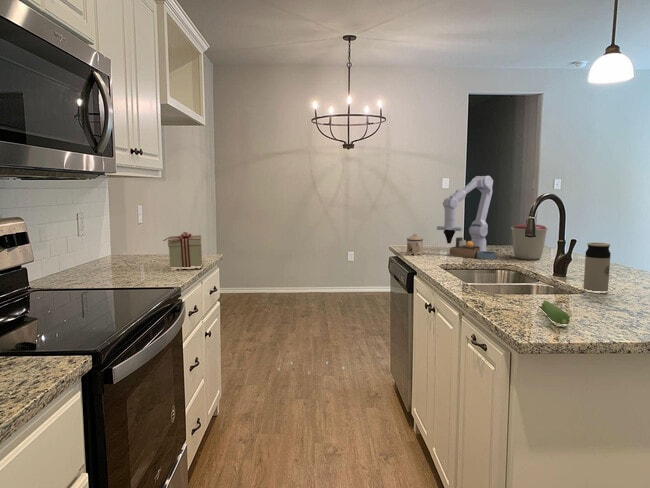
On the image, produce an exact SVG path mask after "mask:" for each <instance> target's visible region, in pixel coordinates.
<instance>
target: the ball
mask: <svg viewBox="0 0 650 488" xmlns="http://www.w3.org/2000/svg"><path fill="white" fill-rule="evenodd" d="M466 247H473V242H471V240H468V241H466Z"/></svg>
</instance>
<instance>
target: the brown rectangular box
mask: <svg viewBox="0 0 650 488" xmlns="http://www.w3.org/2000/svg"><path fill="white" fill-rule="evenodd" d="M478 251H480V247H478V246H473V247H461V246H459V248H457V247H456V245H455V246H452V247H449V256H450V255H453V256H452V257H458V256H460V257H459V258H468V257H469V258H470V259H475V258H476V252H478ZM476 259H477V258H476Z"/></svg>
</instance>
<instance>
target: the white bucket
mask: <svg viewBox="0 0 650 488" xmlns="http://www.w3.org/2000/svg"><path fill="white" fill-rule="evenodd" d="M527 221H528V219H526V220H525V223H521V224H515V225H512V226H511V227H510V229H511V230H512V231H511V233H512V234H511V235H512V246H513V254H514V257H516V258H517V259H519V260H524V261H525V260H527V261H530V260H531V261H533V260H535V261H536V260H540V259H541V258H542V256H543V252H544V247H545V242H546V237H547V231H548V230H549V228H548V227H546V226H545V225H542V224H535V227H536V237H535V238H528V237H525V229H526V225H527Z"/></svg>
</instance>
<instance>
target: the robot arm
mask: <svg viewBox="0 0 650 488" xmlns="http://www.w3.org/2000/svg"><path fill="white" fill-rule="evenodd" d="M493 184H494V179H493V178H492V177H491V176H490V175H481V176H480V175H476V176H474V178H472V179H471V181H469V183H467V184H466V185H465V186H464V187H463V188H462V189H456V190H455V192H454V193H452V194H451V195H449V197H446V198H445V199H444V200H443V202H442V205H443V209H444V222H443V223H444V225H443V226H441V225H440V226H437V225H436V230H437V231H443V235H445V238H446V239H445V240H446V243H447V244H449V245H451V244H452V240H453V237H454V235H455V234H456V232H463V227H459V226H458V227H457V226H456V208H457V207H458V205H459V203H460V202H462V201H463V200H465V198H466V197H467V194H468V193H470V192H471V191H473V190H474V189H477V190H479V191H480V193H481V196H480V200H479V204H478V208H477V213H476V215H475V220H473V221H472V222H471V225H470V227H469V228H468V233H469V236H470V237H471V238H470V239H471V240H470V241H471V242H473V246H478V247H480V251H487V239H486V236H487V235H488V233H489V231H488V230H489V229H488V227H489V225H488V223H487V221H486V220H487V216H488V213H489V208H490V204H491V199H492V195H493Z"/></svg>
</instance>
